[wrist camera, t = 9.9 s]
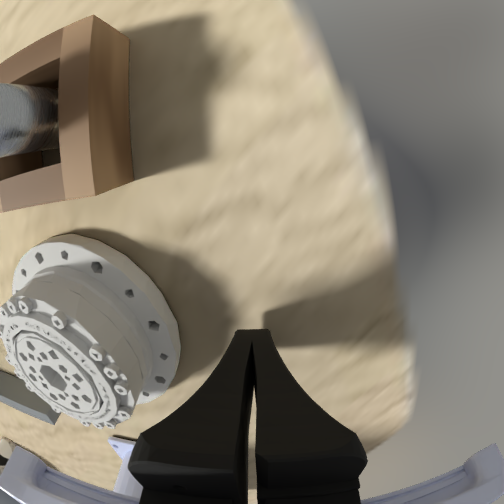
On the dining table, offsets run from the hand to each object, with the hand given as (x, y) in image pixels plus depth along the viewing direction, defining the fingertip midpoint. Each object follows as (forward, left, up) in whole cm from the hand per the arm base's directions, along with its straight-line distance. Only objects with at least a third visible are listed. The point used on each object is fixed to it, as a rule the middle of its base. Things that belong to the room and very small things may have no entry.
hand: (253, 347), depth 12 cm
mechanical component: (0, +8, -2) cm, 9 cm away
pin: (+10, +7, -1) cm, 13 cm away
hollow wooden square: (+10, +7, -1) cm, 12 cm away
